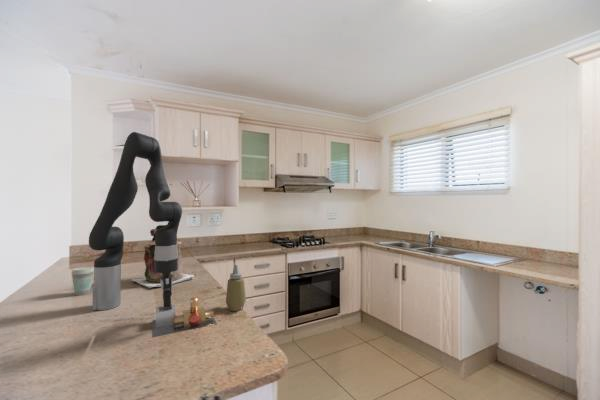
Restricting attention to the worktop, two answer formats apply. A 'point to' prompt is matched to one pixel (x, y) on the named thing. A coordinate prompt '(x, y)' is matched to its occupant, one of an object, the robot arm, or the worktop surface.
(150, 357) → the worktop surface
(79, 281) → the coffee cup
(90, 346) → the worktop surface
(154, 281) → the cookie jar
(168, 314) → the steel fitting
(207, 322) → the valve station
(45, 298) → the worktop surface
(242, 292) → the squeeze bottle
